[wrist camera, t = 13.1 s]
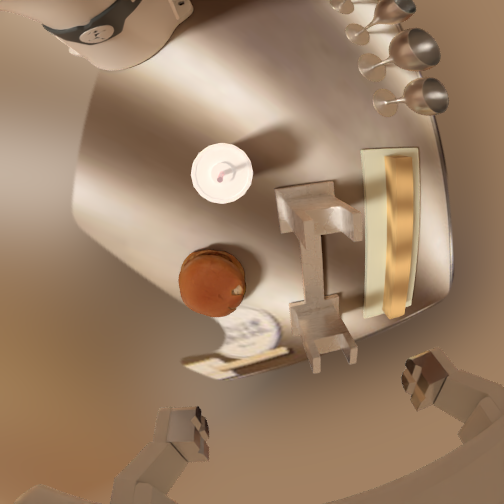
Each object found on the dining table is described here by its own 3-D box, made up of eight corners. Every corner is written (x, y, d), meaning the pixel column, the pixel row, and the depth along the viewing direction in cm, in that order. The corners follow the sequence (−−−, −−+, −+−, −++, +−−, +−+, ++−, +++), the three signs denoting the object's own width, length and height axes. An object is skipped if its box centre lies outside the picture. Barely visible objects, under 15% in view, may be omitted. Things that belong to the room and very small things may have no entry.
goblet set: (404, 114, 33) (464, 112, 21) (374, 121, 34) (432, 118, 21) (333, -35, 23) (365, -76, 11) (301, -33, 23) (325, -80, 11)
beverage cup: (247, 142, 34) (257, 141, 21) (248, 189, 36) (258, 215, 23) (199, 144, 34) (180, 144, 21) (201, 190, 36) (184, 217, 23)
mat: (360, 149, 35) (362, 150, 34) (415, 147, 35) (418, 147, 34) (362, 316, 46) (364, 318, 45) (408, 303, 46) (410, 305, 45)
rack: (274, 188, 36) (292, 207, 26) (330, 180, 37) (368, 197, 26) (291, 332, 46) (307, 382, 35) (336, 322, 46) (360, 368, 35)
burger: (170, 260, 39) (163, 274, 35) (229, 236, 39) (229, 249, 34) (199, 313, 43) (196, 331, 39) (254, 293, 42) (257, 310, 38)
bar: (384, 156, 35) (395, 157, 32) (400, 155, 35) (412, 157, 32) (382, 309, 45) (389, 319, 42) (396, 305, 45) (404, 314, 42)
